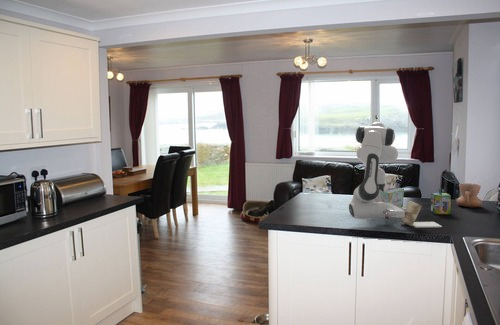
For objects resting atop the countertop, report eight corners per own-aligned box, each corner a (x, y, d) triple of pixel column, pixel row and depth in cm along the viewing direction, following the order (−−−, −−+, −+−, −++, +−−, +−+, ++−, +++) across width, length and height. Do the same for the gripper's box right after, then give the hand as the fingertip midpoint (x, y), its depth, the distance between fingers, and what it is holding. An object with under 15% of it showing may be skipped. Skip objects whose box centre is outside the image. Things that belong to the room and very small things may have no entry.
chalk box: (450, 214, 236) (451, 190, 234) (433, 214, 238) (435, 189, 236) (446, 211, 245) (447, 187, 243) (430, 210, 247) (431, 187, 245)
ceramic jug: (459, 202, 269) (460, 181, 267) (484, 205, 260) (485, 183, 258) (452, 208, 255) (453, 186, 254) (478, 211, 246) (479, 188, 244)
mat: (415, 227, 209) (415, 226, 209) (408, 223, 218) (408, 222, 218) (442, 227, 209) (442, 226, 209) (433, 222, 218) (433, 221, 218)
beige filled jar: (403, 223, 210) (413, 202, 209) (399, 220, 215) (409, 200, 214) (412, 226, 211) (421, 205, 210) (408, 224, 216) (417, 203, 215)
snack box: (388, 219, 227) (389, 192, 225) (379, 217, 231) (380, 191, 229) (403, 212, 242) (404, 188, 241) (394, 211, 246) (395, 186, 245)
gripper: (387, 208, 201) (414, 208, 202) (374, 200, 222) (399, 200, 222) (387, 221, 202) (414, 220, 202) (374, 211, 222) (398, 211, 223)
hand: (406, 209), depth 212 cm, fingers closed
